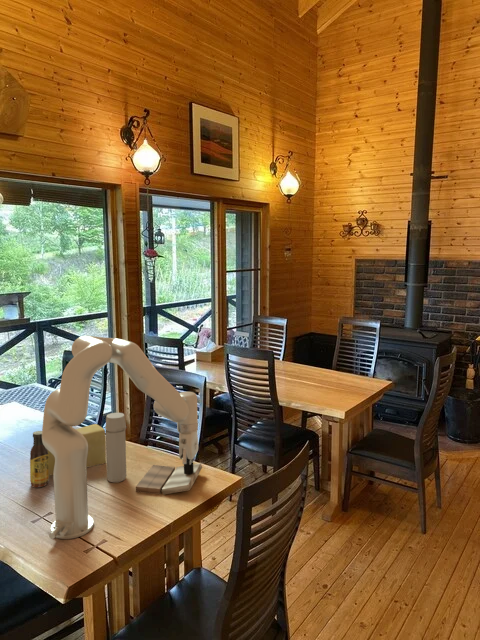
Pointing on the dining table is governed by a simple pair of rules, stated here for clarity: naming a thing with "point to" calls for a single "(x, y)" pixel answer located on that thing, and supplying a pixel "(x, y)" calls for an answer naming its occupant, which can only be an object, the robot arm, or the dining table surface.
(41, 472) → the sauce bottle
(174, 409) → the robot arm
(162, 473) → the laid board
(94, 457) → the cheese
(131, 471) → the dining table surface
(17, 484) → the dining table surface
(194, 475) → the board
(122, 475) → the water bottle
